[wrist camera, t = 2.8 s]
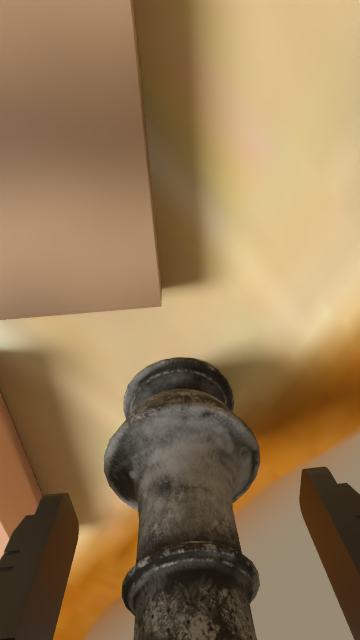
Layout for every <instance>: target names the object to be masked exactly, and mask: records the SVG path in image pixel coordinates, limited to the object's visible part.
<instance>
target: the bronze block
mask: <svg viewBox="0 0 360 640" xmlns="http://www.w3.org/2000/svg"><path fill="white" fill-rule="evenodd" d="M161 296H162V287H161V277H160V267H159V257H158V247H157V237H156V227H155V216H154V206H153V196H152V186H151V176H150V166H149V156H148V146H147V136H146V125H145V115H144V105H143V95H142V85H141V75H140V65H139V55H138V44H137V34H136V24H135V14H134V4H133V0H0V320H5V319H17V318H29V317H41V316H53V315H65V314H77V313H89V312H101V311H113V310H125V309H137V308H149V307H160V306H161Z"/></svg>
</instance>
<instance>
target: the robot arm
mask: <svg viewBox="0 0 360 640" xmlns="http://www.w3.org/2000/svg"><path fill="white" fill-rule="evenodd" d="M299 500H300V507H301V512H302V515H303V518H304V521H305V523H306V526H307V528H308V530H309V533H310V535H311V538H312V540H313V542H314V545H315V547H316V549H317V552H318V554H319V557H320V559H321V561H322V563H323V566H324V568H325V571H326V573H327V576H328V578H329V580H330V582H331V585H332V587H333V590H334V592H335V595H336V597H337V599H338V602H339V604H340V607H341V609H342V611H343V613H344V616H345V618H346V621H347V623H348V626H349V628H350V630H351V633H352V635H353V637H354V639H355V640H360V494H359V493H357V492H356V491H355V490H354V489H353V488H352V487H351V486H350V485H348V484H347V483H342V484H337V483H336V481H335V479H334V478H333V476H332V474H331V472H330V471H329V470H328V468H326V467H317V468H308V469H303V470H302V477H301V487H300V498H299ZM78 533H79V525H78V520H77V517H76V514H75V511H74V508H73V505H72V502H71V499H70V496H69V494H68V493H59V494H50V495H44V496H43V497H42V498H41V500H40V502H39V505H38V507H37V510H36V512H35V515H26V516H25V517H24V519H23V520H22V521H21V522H20V524H19V525H18V526H17V527H16V529H15V530H14V531H13V532H12V535H11V537H10V539H9V541H8V543H7V546H6V548H5V550H4V555H3V556H2V557H1V559H0V640H53V637H54V633H55V629H56V625H57V621H58V617H59V613H60V609H61V605H62V601H63V597H64V593H65V589H66V585H67V581H68V577H69V573H70V569H71V565H72V561H73V557H74V553H75V549H76V545H77V541H78Z"/></svg>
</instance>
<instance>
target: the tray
mask: <svg viewBox="0 0 360 640" xmlns="http://www.w3.org/2000/svg"><path fill="white" fill-rule="evenodd" d="M42 497H43V496H42V493H41V491H40V488H39V486H38V483H37V481H36V478H35V476H34V473H33V471H32V469H31V466H30V464H29V461H28V459H27V456H26V454H25V451H24V449H23V446H22V444H21V441H20V439H19V436H18V434H17V431H16V429H15V426H14V424H13V421H12V419H11V416H10V414H9V411H8V409H7V406H6V404H5V401H4V399H3V396H2V394H1V391H0V559H1V557H2V556H3V555H4V550H5V548H6V546H7V543H8V541H9V539H10V537H11V535H12V532H13V531H14V530H15V529H16V527H17V526H18V525H19V524H20V522H21V521H22V520H23V519H24V517H25V516H26V515H35V512H36V510H37V507H38V505H39V502H40V500H41V498H42Z"/></svg>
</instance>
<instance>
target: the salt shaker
mask: <svg viewBox="0 0 360 640" xmlns="http://www.w3.org/2000/svg"><path fill="white" fill-rule="evenodd" d="M233 404H234V402H233V394H232V390H231V388H230V386H229V384H228V381H227V379H226V378H225V377H224V376H223V375H222V374H221V373H220V372H219V371H218V370H217V369H215V368H214V367H212V366H210V365H209V364H207V363H205V362H201V361H198V360H195V359H190V358H172V359H166V360H161V361H159V362H156V363H154V364H151V365H149V366H147V367H146V368H145V369H143V370H142V371H141V372H139V373H138V374H137V375H136V376H135V377H134V378H133V380H132V381H131V382H130V384H129V385H128V388H127V390H126V393H125V396H124V413H125V417H126V420H125V422H124V423H123V424H122V425H121V426H120V428H119V429H118V430H117V431H116V433H115V434H114V435H113V436H112V438H111V439H110V441H109V444H108V447H107V450H106V452H105V455H104V473H105V475H106V478H107V481H108V483H109V486H110V487H111V488H112V490H113V491H114V492H115V493H116V495H117V496H118V497H119V498H120V499H121V500H122V501H124V502H125V503H126V504H128V505H129V506H131V507H132V508H133V509H136V510H138V512H139V532H138V545H137V558H136V565H135V566H134V567H133V568H132V569H131V570H130V571H129V572H128V573H127V575H126V577H125V579H124V581H123V585H122V599H123V601H124V603H125V606H126V607H127V609H128V610H130V612H131V613H132V614H133V615H134V616H135V627H134V640H257V638H256V634H255V629H254V624H253V619H252V614H251V609H250V603H251V601H252V600H253V599H254V598H255V597H256V594H257V591H258V589H259V586H260V583H259V574H258V571H257V570H256V567H255V566H254V564H253V563H252V561H251V560H249V559H248V558H247V557H245V556H244V555H243V554H242V552H241V547H240V542H239V537H238V533H237V528H236V524H235V519H234V514H233V507H232V503H234V502H235V501H236V500H237V499H238V498H240V497H241V496H242V495H243V494H244V493H245V492H246V491H247V490H248V488H249V487H250V485H251V484H252V482H253V481H254V479H255V478H256V476H257V472H258V468H259V465H260V452H259V445H258V443H257V441H256V439H255V437H254V434H253V432H252V430H251V429H250V428H249V427H248V426H247V425H246V424H245V423H244V422H243V421H242V420H241V419H240V418H239V417H237V416H236V415H235V414H234V413H233V412H232V409H233Z"/></svg>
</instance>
